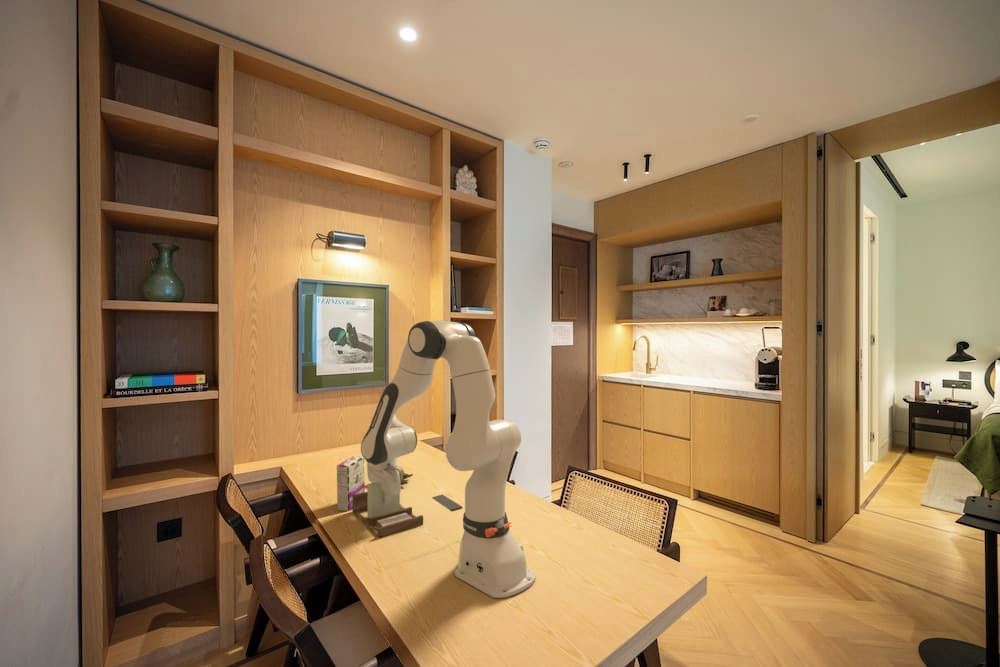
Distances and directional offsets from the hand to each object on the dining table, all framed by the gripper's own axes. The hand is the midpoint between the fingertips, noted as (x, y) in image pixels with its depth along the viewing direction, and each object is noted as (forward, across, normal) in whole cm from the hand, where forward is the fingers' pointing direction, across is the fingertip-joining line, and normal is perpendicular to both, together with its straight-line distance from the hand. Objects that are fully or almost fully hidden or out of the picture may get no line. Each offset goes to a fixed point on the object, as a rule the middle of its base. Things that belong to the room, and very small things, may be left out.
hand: (383, 500), depth 146 cm
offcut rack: (+6, -3, 0) cm, 7 cm away
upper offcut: (+5, -10, 0) cm, 11 cm away
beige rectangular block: (+6, 0, 0) cm, 6 cm away
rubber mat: (+6, -2, -18) cm, 19 cm away
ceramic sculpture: (+6, +30, -16) cm, 34 cm away
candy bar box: (+6, +18, +5) cm, 20 cm away
